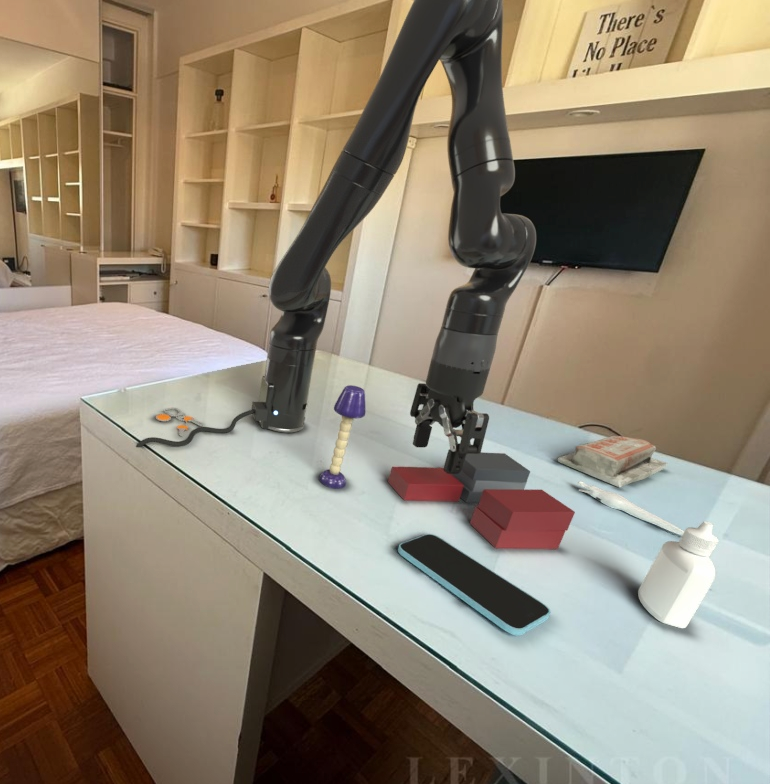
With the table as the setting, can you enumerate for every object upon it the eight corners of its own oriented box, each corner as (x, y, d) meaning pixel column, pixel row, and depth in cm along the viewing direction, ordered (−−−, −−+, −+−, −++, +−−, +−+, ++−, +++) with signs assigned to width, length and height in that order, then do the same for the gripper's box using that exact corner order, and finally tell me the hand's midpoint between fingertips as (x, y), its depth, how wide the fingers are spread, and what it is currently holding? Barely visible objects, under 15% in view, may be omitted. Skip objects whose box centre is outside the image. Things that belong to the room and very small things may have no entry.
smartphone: (431, 532, 62) (555, 610, 49) (429, 538, 62) (552, 618, 50) (395, 545, 59) (517, 632, 46) (393, 552, 59) (514, 641, 47)
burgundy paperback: (404, 500, 71) (408, 484, 70) (387, 481, 76) (391, 466, 75) (458, 501, 71) (464, 485, 70) (439, 483, 76) (443, 467, 75)
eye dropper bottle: (629, 608, 52) (675, 521, 48) (639, 587, 56) (683, 504, 51) (683, 635, 49) (737, 544, 45) (690, 611, 52) (741, 525, 48)
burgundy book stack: (496, 549, 61) (510, 512, 59) (469, 523, 66) (481, 487, 64) (561, 550, 61) (577, 513, 59) (529, 524, 67) (542, 489, 65)
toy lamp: (349, 479, 76) (369, 385, 70) (349, 493, 72) (370, 395, 66) (319, 473, 77) (337, 380, 71) (318, 486, 73) (336, 389, 67)
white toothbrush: (570, 489, 77) (574, 480, 76) (580, 487, 78) (584, 477, 77) (687, 545, 64) (693, 534, 64) (697, 541, 65) (703, 531, 65)
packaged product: (632, 465, 76) (564, 440, 85) (620, 490, 78) (555, 463, 86) (676, 447, 84) (610, 426, 92) (665, 470, 86) (601, 447, 94)
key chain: (149, 413, 96) (149, 409, 96) (178, 408, 100) (179, 404, 100) (178, 437, 86) (178, 433, 86) (210, 431, 90) (210, 427, 89)
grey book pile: (466, 503, 71) (477, 469, 69) (442, 481, 77) (452, 450, 75) (522, 504, 72) (534, 471, 70) (494, 482, 78) (505, 451, 76)
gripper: (410, 347, 72) (389, 438, 78) (468, 374, 59) (438, 482, 65) (454, 348, 73) (431, 439, 78) (522, 375, 60) (488, 483, 65)
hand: (434, 458), depth 71 cm, fingers open, 8 cm apart
